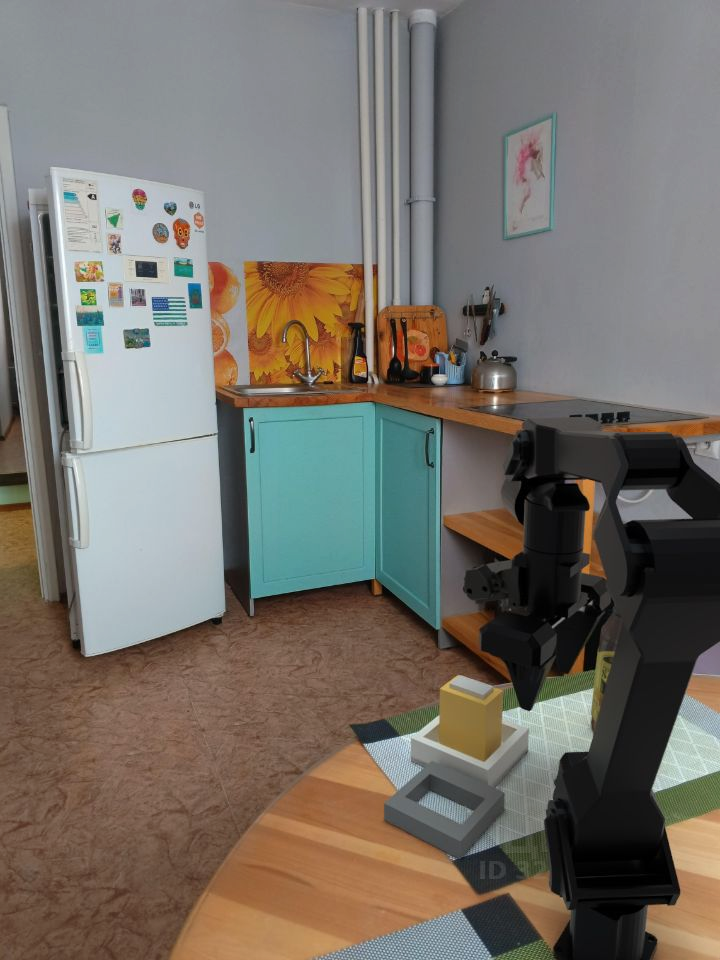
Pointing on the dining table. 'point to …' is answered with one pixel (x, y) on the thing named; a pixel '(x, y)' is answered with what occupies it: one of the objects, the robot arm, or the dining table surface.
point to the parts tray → (486, 772)
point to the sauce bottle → (605, 660)
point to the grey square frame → (437, 826)
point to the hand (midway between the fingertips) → (545, 690)
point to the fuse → (470, 717)
